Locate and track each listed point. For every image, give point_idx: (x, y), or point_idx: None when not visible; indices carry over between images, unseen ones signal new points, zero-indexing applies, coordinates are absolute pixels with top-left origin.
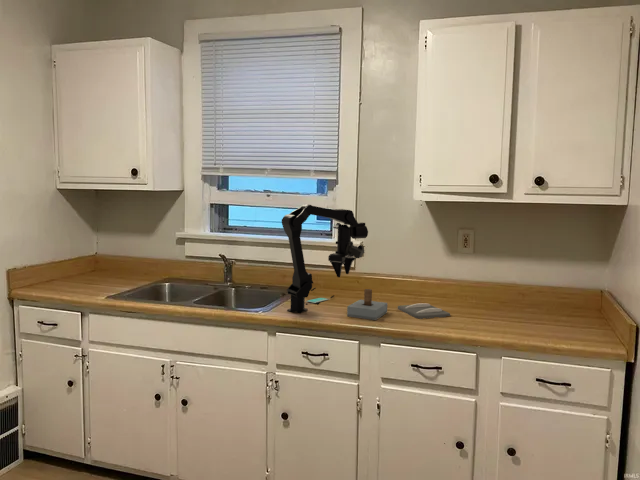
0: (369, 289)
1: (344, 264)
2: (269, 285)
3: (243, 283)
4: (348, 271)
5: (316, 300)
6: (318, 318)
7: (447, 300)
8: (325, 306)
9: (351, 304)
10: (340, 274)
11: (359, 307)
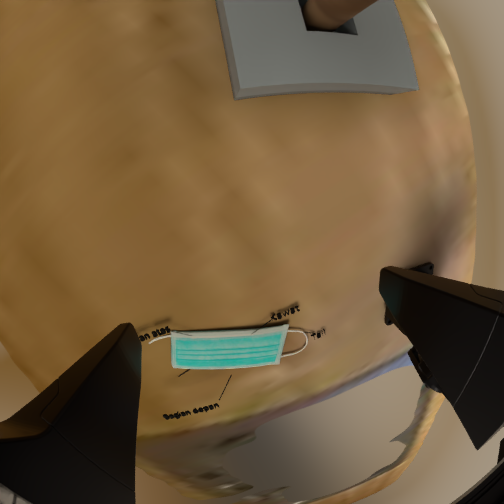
0: None
1: (129, 454)
2: (179, 478)
3: (210, 494)
4: (123, 340)
5: (250, 344)
6: (453, 177)
7: None
8: (300, 265)
9: (383, 82)
10: (404, 275)
11: (400, 35)
